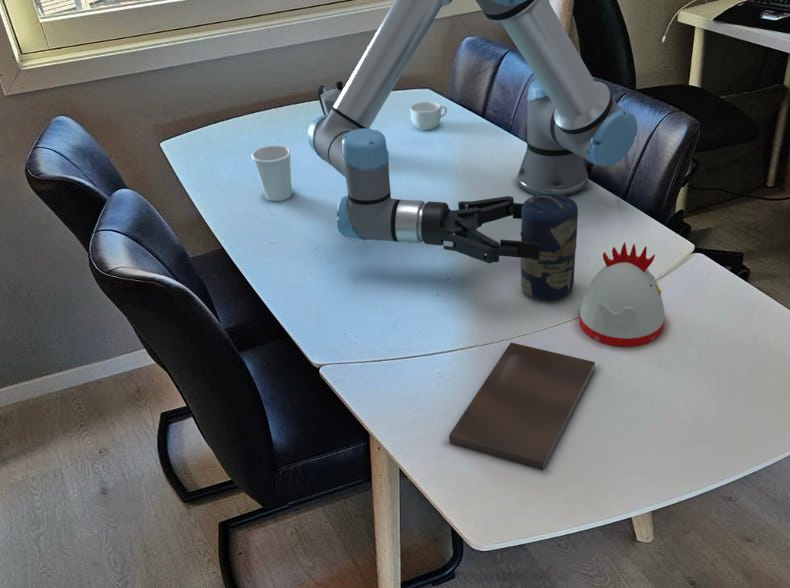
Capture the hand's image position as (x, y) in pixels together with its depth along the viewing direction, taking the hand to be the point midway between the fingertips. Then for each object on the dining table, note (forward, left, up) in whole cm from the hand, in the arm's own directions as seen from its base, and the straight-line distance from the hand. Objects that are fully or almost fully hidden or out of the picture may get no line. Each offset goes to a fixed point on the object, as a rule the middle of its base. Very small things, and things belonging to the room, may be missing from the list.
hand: (544, 231), depth 143 cm
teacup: (-41, -71, -12) cm, 83 cm away
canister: (0, +1, -12) cm, 12 cm away
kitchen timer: (0, +17, -12) cm, 20 cm away
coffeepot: (-15, -74, -12) cm, 77 cm away
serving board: (+27, +19, -12) cm, 35 cm away
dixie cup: (+9, -68, -12) cm, 70 cm away
